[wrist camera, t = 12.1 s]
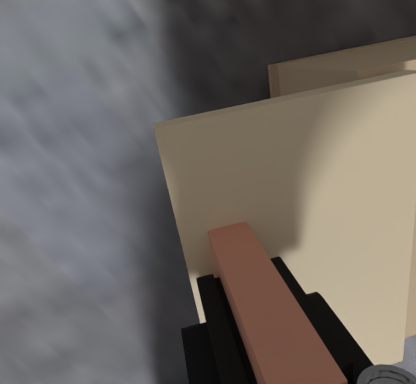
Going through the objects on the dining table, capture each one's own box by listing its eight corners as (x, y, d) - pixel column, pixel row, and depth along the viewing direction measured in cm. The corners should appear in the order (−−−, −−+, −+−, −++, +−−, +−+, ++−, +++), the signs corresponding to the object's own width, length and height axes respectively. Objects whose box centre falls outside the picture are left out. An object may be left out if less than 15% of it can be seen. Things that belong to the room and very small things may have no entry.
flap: (406, 69, 10) (749, 87, 4) (389, 345, 15) (547, 529, 9) (152, 123, 9) (171, 228, 4) (218, 397, 14) (272, 633, 8)
